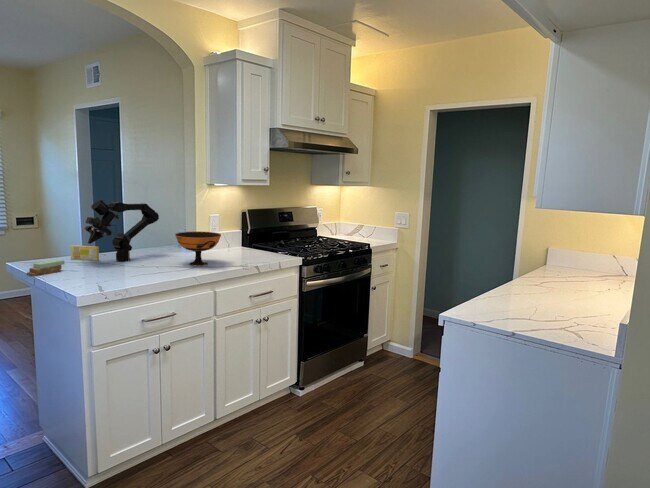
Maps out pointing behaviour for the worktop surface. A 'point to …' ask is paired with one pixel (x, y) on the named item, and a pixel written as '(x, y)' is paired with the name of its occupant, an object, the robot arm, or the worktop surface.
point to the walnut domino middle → (45, 269)
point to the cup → (198, 243)
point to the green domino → (48, 264)
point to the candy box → (85, 253)
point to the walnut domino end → (42, 273)
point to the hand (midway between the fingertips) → (88, 243)
